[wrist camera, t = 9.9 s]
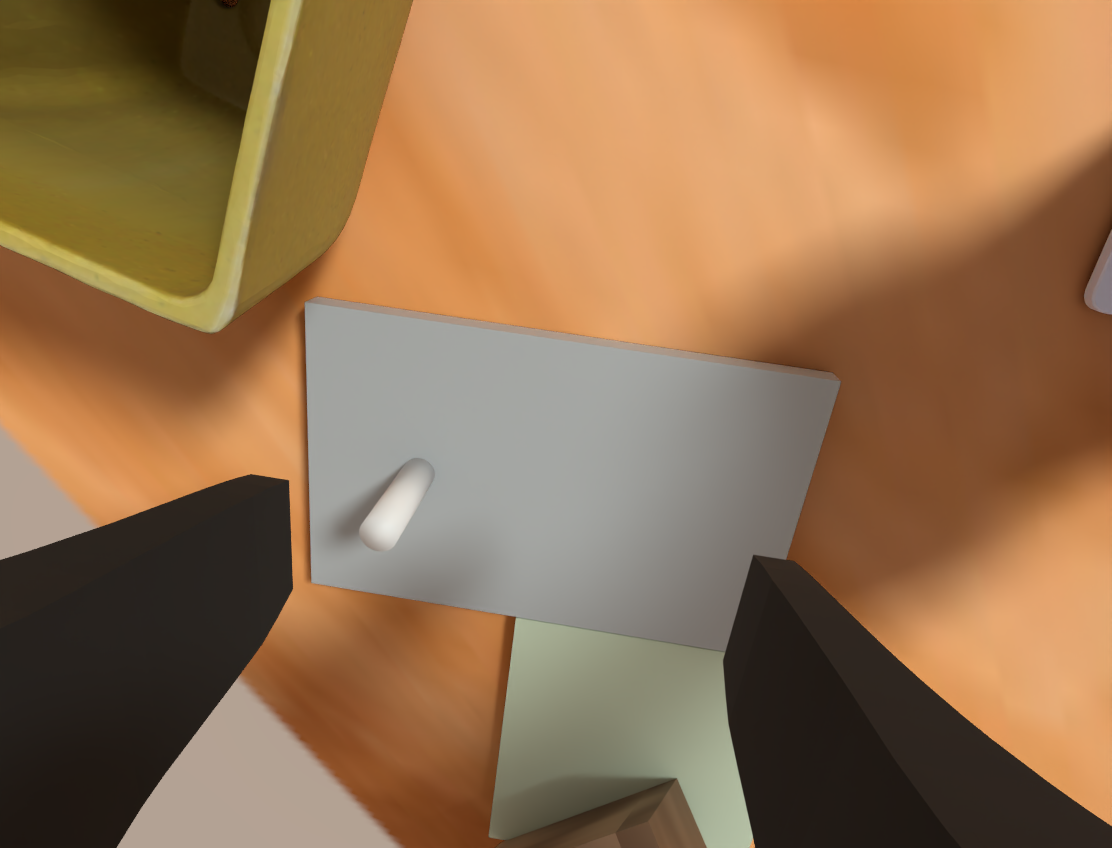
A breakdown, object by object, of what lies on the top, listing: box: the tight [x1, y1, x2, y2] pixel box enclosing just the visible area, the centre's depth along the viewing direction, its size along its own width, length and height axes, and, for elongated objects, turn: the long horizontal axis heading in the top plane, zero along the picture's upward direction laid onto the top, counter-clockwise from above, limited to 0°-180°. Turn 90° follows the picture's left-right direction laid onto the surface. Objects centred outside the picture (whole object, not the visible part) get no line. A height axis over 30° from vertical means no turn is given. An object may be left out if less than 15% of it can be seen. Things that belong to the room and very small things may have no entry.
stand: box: [305, 297, 841, 652], centre depth 18 cm, size 15×10×4 cm, turn 83°
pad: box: [489, 617, 753, 848], centre depth 24 cm, size 10×11×1 cm
